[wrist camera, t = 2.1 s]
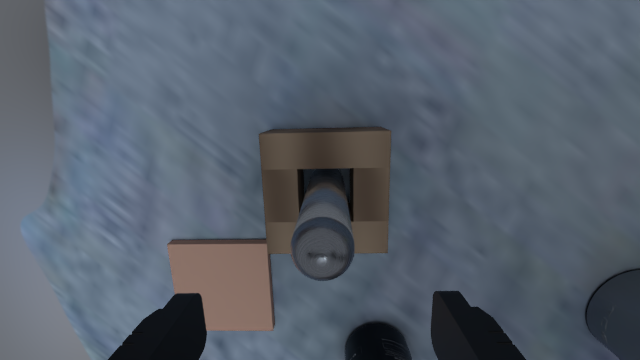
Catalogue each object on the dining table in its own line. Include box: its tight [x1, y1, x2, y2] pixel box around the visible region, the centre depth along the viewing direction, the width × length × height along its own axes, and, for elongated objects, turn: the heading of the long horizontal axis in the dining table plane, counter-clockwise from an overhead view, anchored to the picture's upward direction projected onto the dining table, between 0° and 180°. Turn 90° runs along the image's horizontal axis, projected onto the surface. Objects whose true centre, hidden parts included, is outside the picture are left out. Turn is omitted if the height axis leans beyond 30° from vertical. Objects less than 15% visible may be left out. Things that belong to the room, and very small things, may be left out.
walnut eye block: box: [259, 127, 391, 254], centre depth 26 cm, size 10×10×5 cm
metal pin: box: [290, 168, 355, 281], centre depth 21 cm, size 3×3×16 cm
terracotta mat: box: [167, 239, 275, 331], centre depth 31 cm, size 10×10×1 cm
